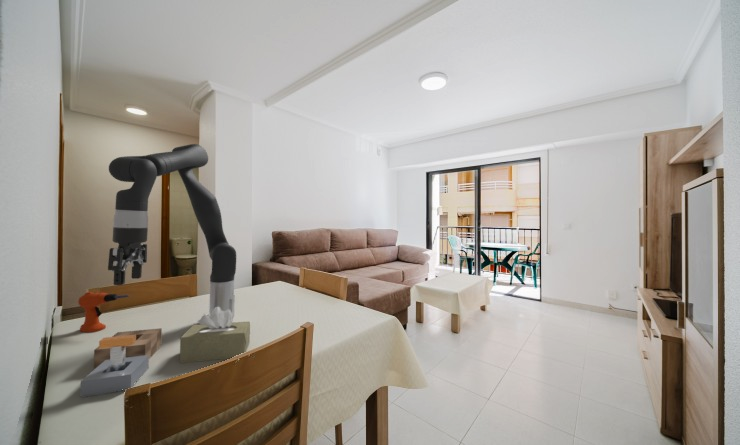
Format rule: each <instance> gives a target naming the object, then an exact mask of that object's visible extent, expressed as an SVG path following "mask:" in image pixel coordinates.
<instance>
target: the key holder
mask: <svg viewBox="0 0 740 445" xmlns="http://www.w3.org/2000/svg"><path fill="white" fill-rule="evenodd" d="M149 360H150V359H149V355H144V356H135V357H127V358H125V370H122V371H114V372H110V360H105V361H104V362H103V363H101V364H100V365H99V366H98V367H97V368H96V369H94V368H93V370H92V371H91V372H89V374H87V375H86V376H85V377H83V379H81V380H80V395H79V396H80V398H83V397H90V396H91V397H92V396H98V395H102V394H105V395H106V394H110V393H111V394H112V393H117V392H116V391H118V392H122V391H121V390H122V389H123V391H126V390H125V389H128V388H131V387H135V385H134V383H135V382H136V381H137V380H138V381H139V380H140V379H141V378H142V377H143V376H144V374H145V373H146V372H147V371H148V369H149V368H150V367H149V366H150V365H149V363H150V361H149ZM141 376H142V377H141ZM140 377H141V378H140ZM139 378H140V379H139Z"/></svg>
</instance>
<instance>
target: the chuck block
mask: <svg viewBox="0 0 740 445" xmlns="http://www.w3.org/2000/svg"><path fill="white" fill-rule="evenodd" d="M162 331H163V330H162V327H160V328H150V329H138V330H129V331H118V332H116V333H115V334H114V335H112V336H111V337H116V336H127V335H136V342H135V343H134V344H133V345H128V346H126V356H125V358H127V357H135V356H144V355H149V360H150V359H151V358H152V357H153V355H154V354H156V352H157V351H158V350H159V349H160V347H162V334H163V333H162ZM105 360H110V347H109V348H100V349H99V346H97V347H96V348H95V349H94V350H93V370H94V369H96V368H97V367H98V366H99V365H100V364H101V363H103V362H104V361H105Z"/></svg>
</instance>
